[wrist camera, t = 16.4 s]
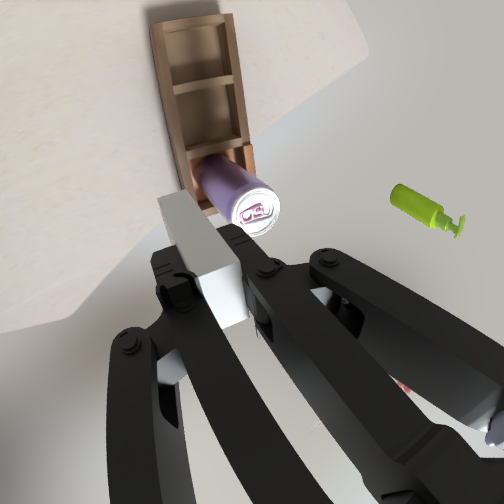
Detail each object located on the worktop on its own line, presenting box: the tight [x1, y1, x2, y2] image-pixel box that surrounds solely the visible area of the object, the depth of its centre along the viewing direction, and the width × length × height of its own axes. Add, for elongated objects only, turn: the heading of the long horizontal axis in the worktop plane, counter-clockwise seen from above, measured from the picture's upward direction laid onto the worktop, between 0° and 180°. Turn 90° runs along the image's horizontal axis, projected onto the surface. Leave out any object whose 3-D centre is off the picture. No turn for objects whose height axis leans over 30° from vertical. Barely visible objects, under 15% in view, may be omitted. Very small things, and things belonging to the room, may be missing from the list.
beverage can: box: [195, 154, 280, 237], centre depth 35 cm, size 6×6×15 cm
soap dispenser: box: [390, 184, 465, 238], centre depth 56 cm, size 6×7×20 cm
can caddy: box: [149, 13, 256, 217], centre depth 34 cm, size 10×28×4 cm, turn 7°
